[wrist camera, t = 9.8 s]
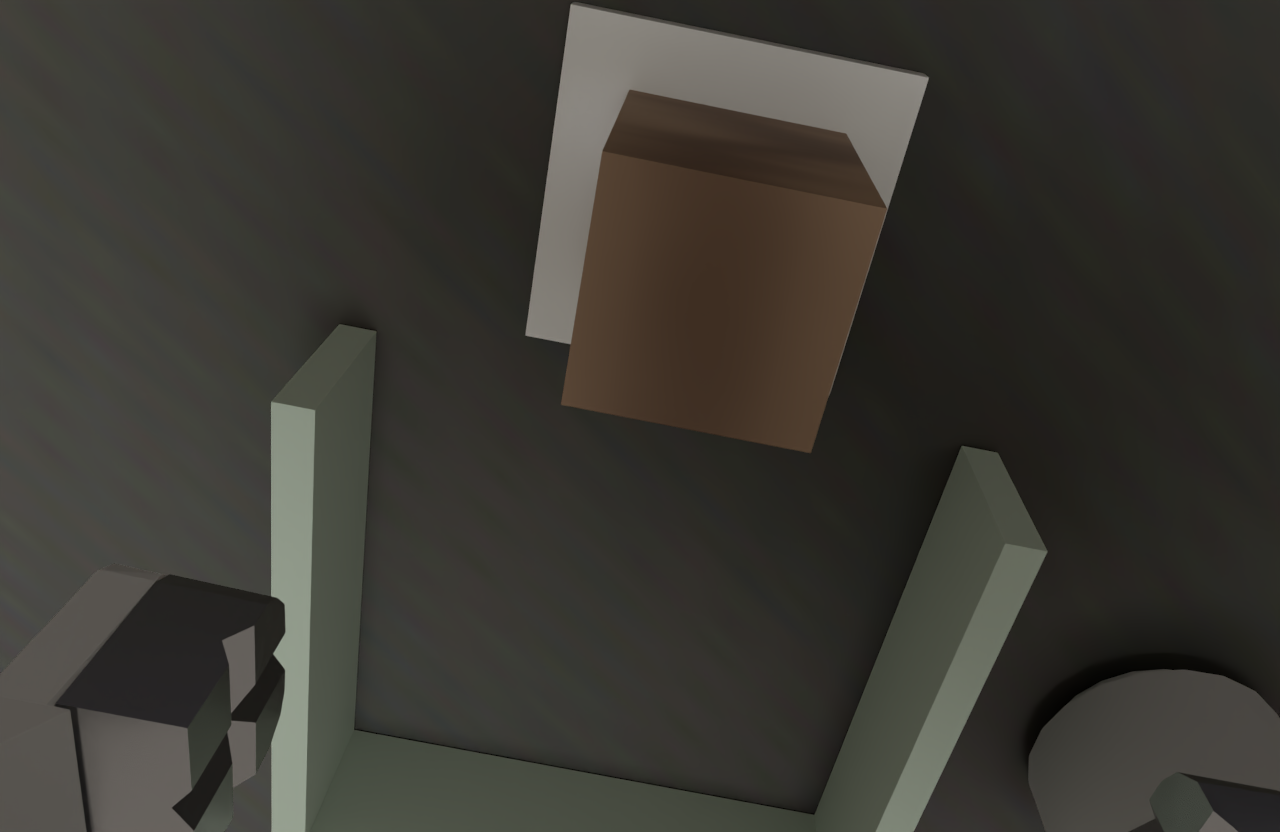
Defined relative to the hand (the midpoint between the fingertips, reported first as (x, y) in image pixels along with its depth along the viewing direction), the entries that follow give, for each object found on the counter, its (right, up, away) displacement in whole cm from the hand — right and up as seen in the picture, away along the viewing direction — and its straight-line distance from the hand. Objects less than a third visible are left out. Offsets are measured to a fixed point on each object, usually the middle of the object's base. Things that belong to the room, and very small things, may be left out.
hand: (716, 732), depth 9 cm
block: (+1, +8, +14) cm, 16 cm away
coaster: (+1, +8, +15) cm, 17 cm away
